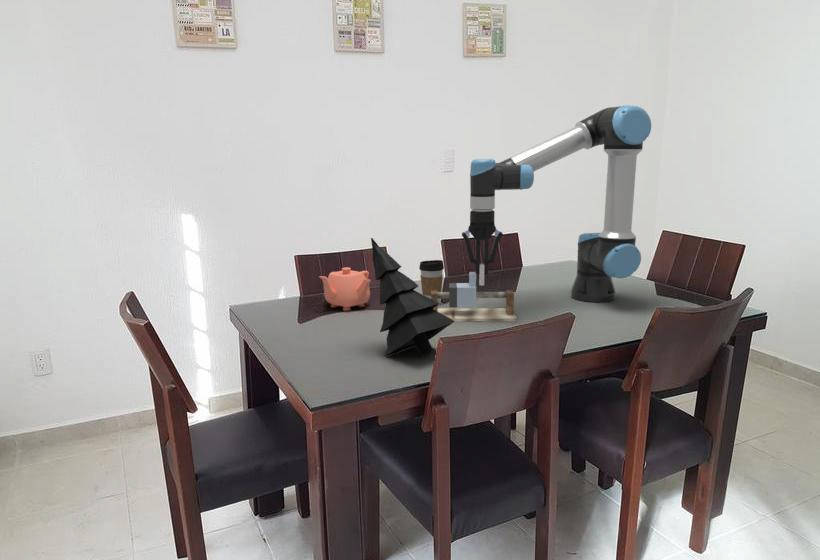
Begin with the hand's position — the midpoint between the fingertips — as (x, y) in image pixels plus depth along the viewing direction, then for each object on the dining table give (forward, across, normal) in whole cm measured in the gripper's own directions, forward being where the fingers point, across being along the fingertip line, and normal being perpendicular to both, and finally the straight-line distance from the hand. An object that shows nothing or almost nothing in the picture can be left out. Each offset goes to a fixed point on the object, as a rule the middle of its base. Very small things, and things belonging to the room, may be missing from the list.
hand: (481, 284), depth 198 cm
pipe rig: (+11, +3, 0) cm, 11 cm away
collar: (+7, +9, 0) cm, 11 cm away
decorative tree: (+11, +23, +33) cm, 42 cm away
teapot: (+11, +45, -12) cm, 48 cm away
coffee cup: (+11, +16, -16) cm, 25 cm away
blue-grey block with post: (+7, +5, 0) cm, 8 cm away
